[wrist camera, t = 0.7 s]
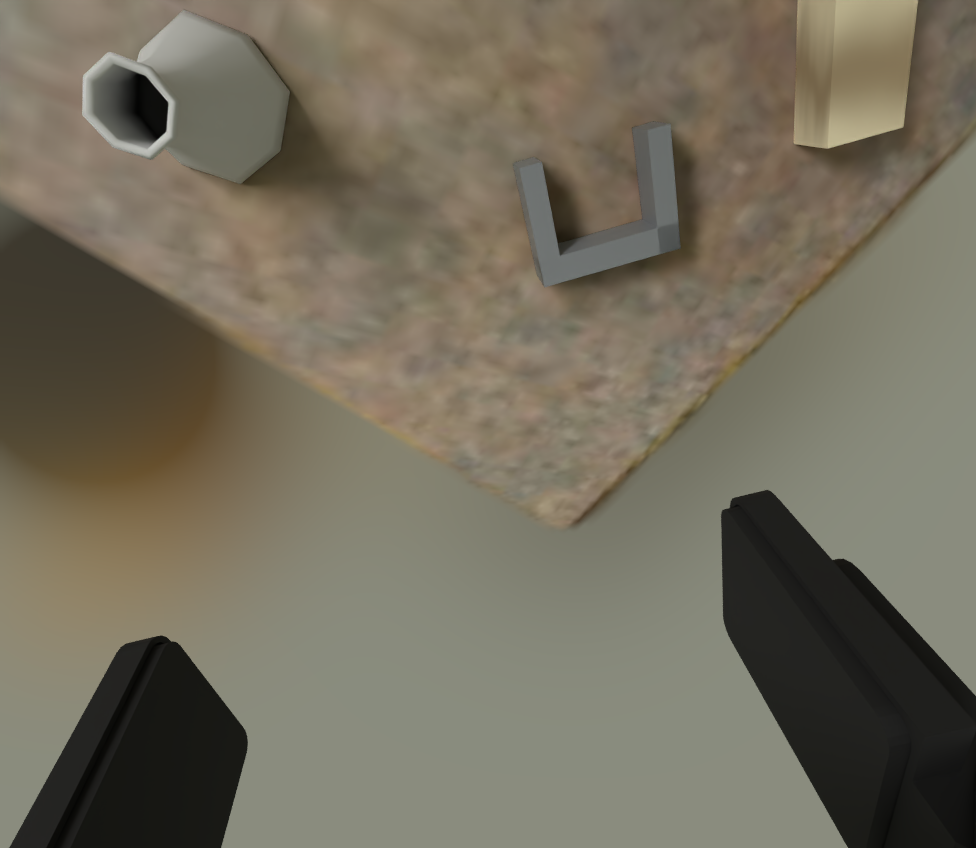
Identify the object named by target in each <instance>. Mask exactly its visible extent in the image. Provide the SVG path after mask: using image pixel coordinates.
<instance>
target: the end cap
mask: <svg viewBox="0 0 976 848" xmlns="http://www.w3.org/2000/svg"><path fill="white" fill-rule="evenodd" d="M632 131H633V140H634V149H635V158H636V167H637V176H638V184H639V193H640V202H641V211H642V220H638V221H635V222H631V223H628V224H624V225H621V226H617V227H614V228H610V229H607V230H604V231H600V232H597V233H593V234H590V235H586V236H583V237H579V238H576V239H573V240H569V241H566V242H562V243H559V244H558V243H557V238H556V233H555V228H554V223H553V217H552V212H551V207H550V202H549V197H548V191H547V186H546V181H545V176H544V171H543V165H542V162H541V161H540V160H538V159H536V158H534V157H532V158H529V159H525V160H522V161H518V162H515V163H513V167H514V171H515V176H516V181H517V185H518V190H519V194H520V199H521V204H522V208H523V213H524V217H525V222H526V227H527V231H528V236H529V240H530V245H531V250H532V254H533V259H534V264H535V268H536V273H537V276H538V278H539V279H540V281H541V282H542V284H543V286H544V287H547V286H551V285H554V284H558V283H561V282H565V281H568V280H572V279H575V278H579V277H582V276H586V275H589V274H593V273H596V272H600V271H603V270H607V269H610V268H614V267H617V266H621V265H624V264H627V263H631V262H634V261H638V260H641V259H645V258H648V257H652V256H655V255H659V254H662V253H666V252H669V251H673V250H676V249H680V248H681V247H680V235H679V223H678V210H677V198H676V186H675V173H674V161H673V149H672V137H671V124H669V123H662V122H654V121H653V122H650V123H646V124H643V125H640V126H636V127H633V128H632Z"/></svg>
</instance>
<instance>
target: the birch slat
mask: <svg viewBox="0 0 976 848" xmlns="http://www.w3.org/2000/svg"><path fill="white" fill-rule="evenodd" d="M917 5H918V0H798V9H797V46H796V82H795V118H794V144H798V145H805V146H812V147H819V148H826V149H828V148H832V147H835V146H839V145H843V144H846V143H850V142H853V141H857V140H860V139H864V138H867V137H871V136H874V135H878V134H882V133H885V132H889V131H892V130H896V129H899V128H903V125H904V117H905V108H906V99H907V91H908V82H909V74H910V65H911V56H912V48H913V39H914V31H915V22H916V13H917Z"/></svg>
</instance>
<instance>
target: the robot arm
mask: <svg viewBox="0 0 976 848" xmlns="http://www.w3.org/2000/svg"><path fill="white" fill-rule="evenodd" d="M721 525H722V526H721V527H722V577H723V579H722V580H723V619H724V624H725V627H726V630H727V633H728V635H729V637H730V639H731V641H732V643H733V644H734V647H735V648H736V650H737V652H738V654H739V655H740V657H741V659H742V661H743V663H744V664H745V666H746V668H747V670H748V671H749V673H750V675H751V677H752V678H753V680H754V682H755V683H756V686H757V687H758V689H759V691H760V693H761V694H762V696H763V698H764V700H765V701H766V703H767V705H768V707H769V709H770V710H771V712H772V714H773V716H774V717H775V719H776V721H777V723H778V724H779V726H780V728H781V730H782V732H783V733H784V735H785V737H786V739H787V740H788V742H789V744H790V746H791V748H792V749H793V751H794V753H795V755H796V756H797V758H798V760H799V762H800V763H801V765H802V767H803V768H804V771H805V772H806V774H807V776H808V778H809V779H810V781H811V783H812V785H813V787H814V788H815V790H816V792H817V794H818V795H819V797H820V799H821V801H822V802H823V804H824V806H825V808H826V810H827V811H828V813H829V815H830V817H831V818H832V820H833V822H834V824H835V826H836V827H837V829H838V831H839V833H840V834H841V836H842V838H843V840H844V842H845V843H846V845H847V846H848V848H976V696H975V695H974V694H973V693H972V692H971V690H970V689H969V688H968V687H967V686H966V685H965V684H964V683H963V682H962V681H961V680H960V678H959V677H958V676H957V675H956V674H955V673H954V672H953V671H952V670H951V669H950V668H949V666H948V665H947V664H946V663H945V662H944V661H943V660H942V659H941V658H940V657H939V656H938V655H937V653H936V652H935V651H934V650H933V649H932V648H931V647H930V646H929V645H928V644H927V643H926V641H925V640H923V638H922V637H921V636H920V635H919V634H918V633H917V632H916V631H915V629H914V628H913V627H912V626H911V625H910V624H909V623H908V622H907V621H906V620H905V619H904V618H903V616H902V615H901V614H900V613H899V612H898V611H897V610H896V609H895V608H894V607H893V606H892V605H891V603H889V601H888V600H887V599H886V598H885V597H884V596H883V595H882V594H881V592H880V591H879V590H878V589H877V588H876V587H875V586H874V585H873V584H872V583H871V582H870V581H869V580H868V578H867V577H866V576H865V575H864V574H863V573H862V572H861V571H860V570H859V569H858V568H857V567H856V566H855V565H853V564H852V563H851V562H849V561H847V560H845V559H835V560H832V559H831V558H830V557H829V556H828V555H827V554H826V552H825V551H824V550H823V549H822V548H821V547H820V546H819V545H818V544H817V542H816V541H815V540H814V539H813V538H812V537H811V535H810V534H809V533H808V532H807V531H806V530H805V529H804V527H803V526H802V525H801V524H800V523H799V522H798V521H797V519H796V518H795V517H794V516H793V515H792V514H791V513H790V512H789V510H788V509H787V508H786V507H785V506H784V505H783V504H782V502H781V501H780V500H779V499H778V498H777V497H776V496H775V495H774V494H773V493H772V492H771V491H768V490H765V491H761V492H757V493H753V494H748V495H744V496H740V497H736V498H733V499H732V501H731V504H730V508H729V509H725V510H723V511H722V514H721ZM247 745H248V741H247V735H246V732H245V730H244V728H243V726H242V725H241V724H240V723H239V721H238V720H237V719H236V717H235V716H234V715H233V714H232V712H231V711H230V710H229V708H228V707H227V706H226V705H225V703H224V702H223V701H222V699H221V698H220V697H219V695H218V694H217V693H216V692H215V690H214V689H213V688H212V686H211V685H210V684H209V682H208V681H207V680H206V678H205V677H204V676H203V675H202V673H201V672H200V671H199V669H198V668H197V667H196V666H195V664H194V663H193V662H192V660H191V659H190V658H189V656H188V655H187V654H186V652H185V651H184V650H183V649H182V647H181V646H180V645H179V644H178V643H176V642H171V641H170V640H169V639H168V638H167V637H164V636H156V637H152V638H148V639H144V640H139V641H135V642H131V643H127V644H125V645H124V646H122V647H121V648H120V649H119V651H118V652H117V653H116V655H115V657H114V659H113V660H112V662H111V664H110V666H109V668H108V670H107V672H106V674H105V675H104V677H103V679H102V681H101V682H100V684H99V686H98V688H97V690H96V692H95V693H94V695H93V697H92V699H91V701H90V702H89V704H88V706H87V708H86V710H85V711H84V713H83V715H82V717H81V719H80V720H79V722H78V724H77V726H76V728H75V730H74V732H73V733H72V735H71V737H70V739H69V740H68V742H67V744H66V746H65V748H64V750H63V751H62V753H61V755H60V757H59V759H58V760H57V762H56V764H55V766H54V768H53V769H52V771H51V773H50V775H49V777H48V779H47V780H46V782H45V784H44V786H43V788H42V789H41V791H40V793H39V795H38V797H37V799H36V801H35V802H34V804H33V806H32V808H31V809H30V811H29V813H28V815H27V817H26V819H25V820H24V822H23V824H22V826H21V828H20V830H19V831H18V833H17V835H16V837H15V839H14V840H13V842H12V844H11V846H10V848H221V845H222V842H223V838H224V835H225V831H226V827H227V824H228V820H229V816H230V812H231V809H232V805H233V801H234V798H235V794H236V790H237V786H238V783H239V779H240V775H241V772H242V768H243V764H244V760H245V756H246V753H247Z"/></svg>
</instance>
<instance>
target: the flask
mask: <svg viewBox="0 0 976 848" xmlns="http://www.w3.org/2000/svg"><path fill="white" fill-rule="evenodd" d="M289 95H290V91H289V90H288V88H287V87H286V86H285V84H284V83H283V82H282V80H281V79H280V78H279V76H278V75H277V74H276V72H275V71H274V69H273V68H272V67H271V65H270V64H269V63H268V61H267V60H266V59H265V57H264V56H263V55H262V53H261V52H260V51H259V49H258V48H257V47H256V45H255V44H254V43H253V41H252V40H251V38H250V37H249V36H248V35H247V34H245V33H242V32H240V31H237V30H235V29H232V28H230V27H227V26H225V25H222V24H219V23H217V22H214V21H212V20H209V19H207V18H204V17H202V16H199V15H197V14H194V13H191V12H189V11H186V10H183V11H182V12H181V13H179V14H178V15H177V16H176V17H175V18H174V19H173V20H172V21H171V22H170V23H169V24H168V25H167V26H166V27H165V28H163V29H162V30H161V31H160V32H159V33H158V34H157V35H156V36H155V37H154V38H153V39H152V40H151V41H150V42H148V43H147V44H146V45H145V46H144V47H143V48H142V49H141V50H140V53H139V56H138V60H137V61H134V60H132V59H129V58H126V57H123V56H121V55H118V54H115V53H112V52H108V53H107V54H106V55H104V56H103V57H102V58H101V59H100V60H99V61H98V62H97V63H96V64H95V65H94V66H93V67H92V68H91V69H90V70H89V71H88V72H87V73H86V74H84V75H83V111H82V115H83V116H84V117H85V118H86V119H87V120H88V121H89V123H90V124H91V125H92V126H93V127H94V128H95V129H96V130H97V131H98V132H99V133H100V134H101V135H102V136H103V137H104V139H105V140H106V141H107V142H108V143H109V144H110V145H111V146H112V147H113V148H116V149H119V150H122V151H125V152H128V153H131V154H134V155H137V156H141V157H144V158H147V159H150V160H152V159H154V158H155V157H156V156H157V155H158V154H160V153H161V152H162V151H163V150H164V149H166V150H167V151H168V152H169V153H170V154H172V155H173V156H174V157H175V158H176V159H177V160H178V161H179V162H180V163H181V164H182V165H184V166H187V167H190V168H193V169H196V170H199V171H202V172H205V173H208V174H211V175H214V176H217V177H220V178H223V179H226V180H229V181H232V182H235V183H238V184H241V183H242V182H244V181H245V180H246V179H247V178H248V177H250V176H251V175H252V174H253V173H255V172H256V171H257V170H258V169H259V168H261V167H262V166H263V165H264V164H265V163H267V162H268V161H269V160H270V159H272V158H273V157H274V156H275V155H276V154H278V153H279V152H280V151H281V145H282V139H283V132H284V126H285V120H286V114H287V108H288V102H289Z"/></svg>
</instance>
